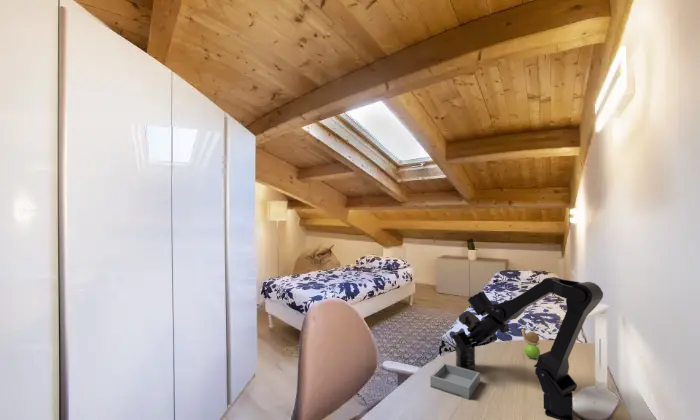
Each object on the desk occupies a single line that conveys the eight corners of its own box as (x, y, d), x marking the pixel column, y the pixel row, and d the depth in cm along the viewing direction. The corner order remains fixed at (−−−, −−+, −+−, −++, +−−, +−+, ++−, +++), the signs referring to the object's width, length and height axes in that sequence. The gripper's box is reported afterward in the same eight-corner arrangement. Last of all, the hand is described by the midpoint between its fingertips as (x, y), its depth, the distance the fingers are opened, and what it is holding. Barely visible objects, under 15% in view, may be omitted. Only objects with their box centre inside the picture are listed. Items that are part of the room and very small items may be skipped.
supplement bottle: (451, 366, 120) (451, 334, 120) (465, 363, 123) (465, 331, 123) (465, 374, 114) (465, 340, 114) (479, 371, 116) (479, 337, 117)
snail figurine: (522, 353, 132) (521, 324, 133) (540, 357, 129) (539, 327, 129) (521, 358, 127) (520, 328, 128) (540, 362, 124) (539, 330, 125)
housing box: (479, 383, 108) (479, 372, 108) (468, 399, 98) (468, 387, 98) (444, 372, 115) (444, 362, 115) (430, 386, 105) (430, 376, 105)
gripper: (489, 303, 120) (465, 324, 129) (456, 310, 111) (432, 332, 120) (509, 330, 113) (483, 351, 122) (475, 340, 104) (449, 361, 113)
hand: (462, 348), depth 120 cm, fingers closed on supplement bottle, 7 cm apart
